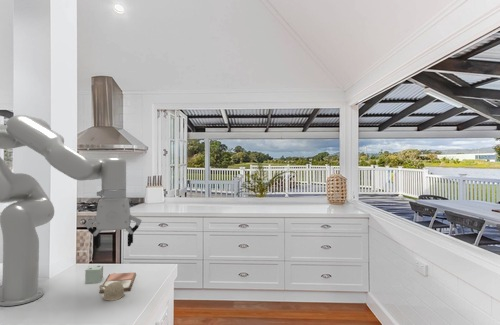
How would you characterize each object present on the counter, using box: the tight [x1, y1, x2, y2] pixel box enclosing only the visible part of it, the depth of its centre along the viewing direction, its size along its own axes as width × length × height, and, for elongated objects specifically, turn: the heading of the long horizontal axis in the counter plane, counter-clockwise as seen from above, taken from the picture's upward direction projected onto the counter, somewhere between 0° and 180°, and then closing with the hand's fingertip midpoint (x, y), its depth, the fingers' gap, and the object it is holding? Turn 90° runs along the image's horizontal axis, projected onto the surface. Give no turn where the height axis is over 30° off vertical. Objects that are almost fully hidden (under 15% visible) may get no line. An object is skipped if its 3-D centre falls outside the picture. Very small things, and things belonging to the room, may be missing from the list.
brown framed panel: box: [98, 272, 137, 294], centre depth 115 cm, size 10×16×1 cm, turn 14°
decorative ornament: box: [98, 282, 126, 301], centre depth 102 cm, size 4×8×5 cm, turn 129°
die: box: [84, 264, 104, 285], centre depth 117 cm, size 5×5×5 cm
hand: (114, 246), depth 102 cm, fingers open, 9 cm apart
